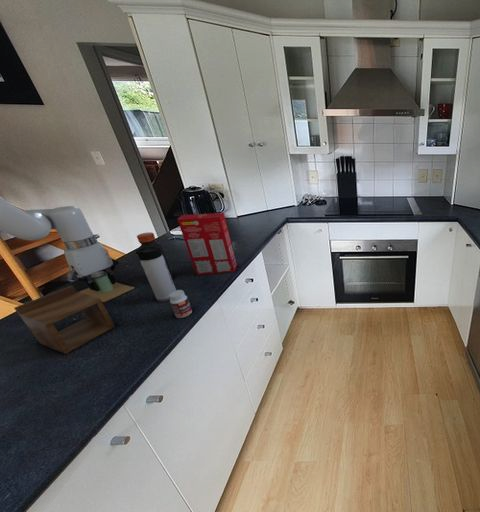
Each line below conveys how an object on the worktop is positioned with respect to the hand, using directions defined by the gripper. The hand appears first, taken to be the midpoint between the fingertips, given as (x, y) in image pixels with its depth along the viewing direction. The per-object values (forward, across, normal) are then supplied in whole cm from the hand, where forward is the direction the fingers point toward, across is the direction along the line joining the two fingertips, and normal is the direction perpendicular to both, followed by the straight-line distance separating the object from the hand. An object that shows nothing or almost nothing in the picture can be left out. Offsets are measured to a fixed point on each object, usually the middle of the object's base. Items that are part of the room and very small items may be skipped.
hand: (103, 286), depth 102 cm
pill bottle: (+2, 0, +40) cm, 40 cm away
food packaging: (+2, -26, +26) cm, 37 cm away
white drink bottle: (+2, -13, +12) cm, 18 cm away
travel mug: (+2, -5, +25) cm, 26 cm away
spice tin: (+2, 0, 0) cm, 2 cm away
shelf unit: (+2, +18, +20) cm, 27 cm away
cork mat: (+2, 0, 0) cm, 2 cm away
